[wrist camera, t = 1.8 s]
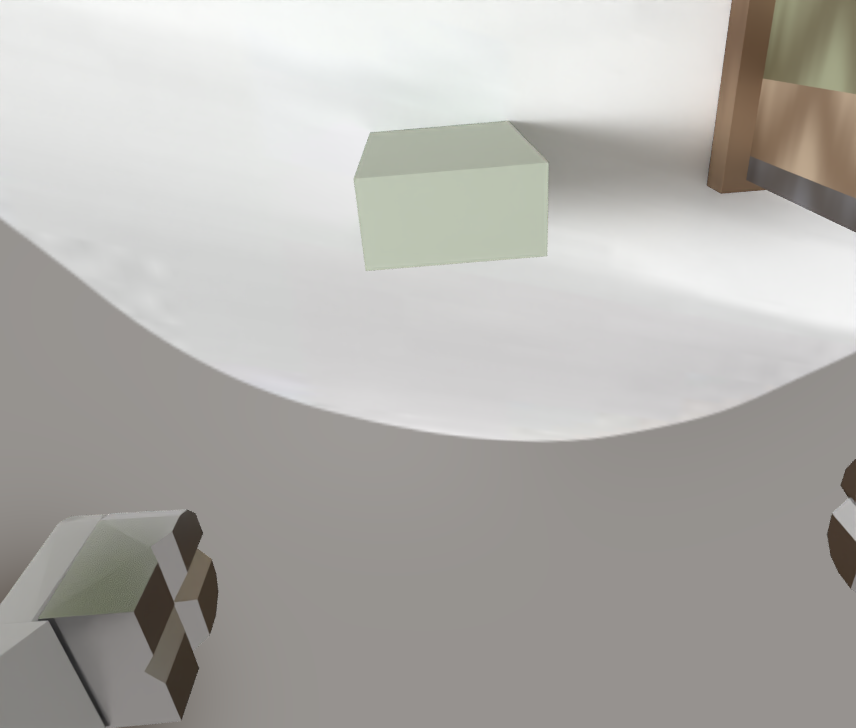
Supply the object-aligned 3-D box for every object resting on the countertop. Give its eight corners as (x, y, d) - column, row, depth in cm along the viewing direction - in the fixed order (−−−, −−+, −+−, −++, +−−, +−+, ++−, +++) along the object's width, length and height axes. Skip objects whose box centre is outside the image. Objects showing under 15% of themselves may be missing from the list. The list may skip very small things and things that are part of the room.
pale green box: (370, 132, 27) (353, 178, 19) (508, 120, 27) (548, 162, 19) (377, 201, 29) (365, 271, 21) (509, 190, 29) (547, 256, 21)
